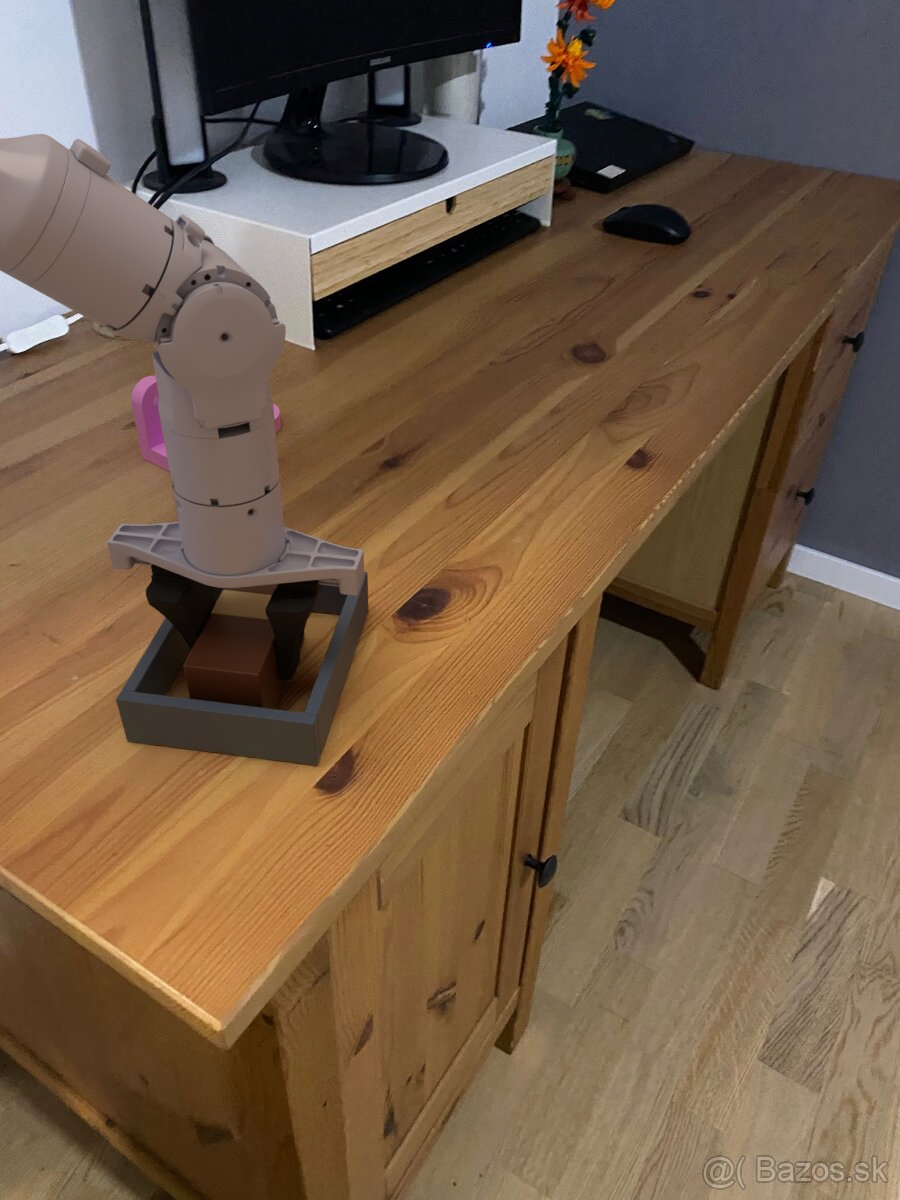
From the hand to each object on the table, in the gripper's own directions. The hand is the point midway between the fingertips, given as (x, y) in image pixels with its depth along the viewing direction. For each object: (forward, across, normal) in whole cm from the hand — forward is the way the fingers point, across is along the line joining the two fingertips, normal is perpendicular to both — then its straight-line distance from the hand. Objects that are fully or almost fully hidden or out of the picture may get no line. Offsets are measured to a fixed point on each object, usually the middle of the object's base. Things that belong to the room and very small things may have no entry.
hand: (251, 664), depth 58 cm
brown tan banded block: (+1, 0, 0) cm, 1 cm away
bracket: (+2, +12, -30) cm, 33 cm away
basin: (+1, 0, -1) cm, 2 cm away
